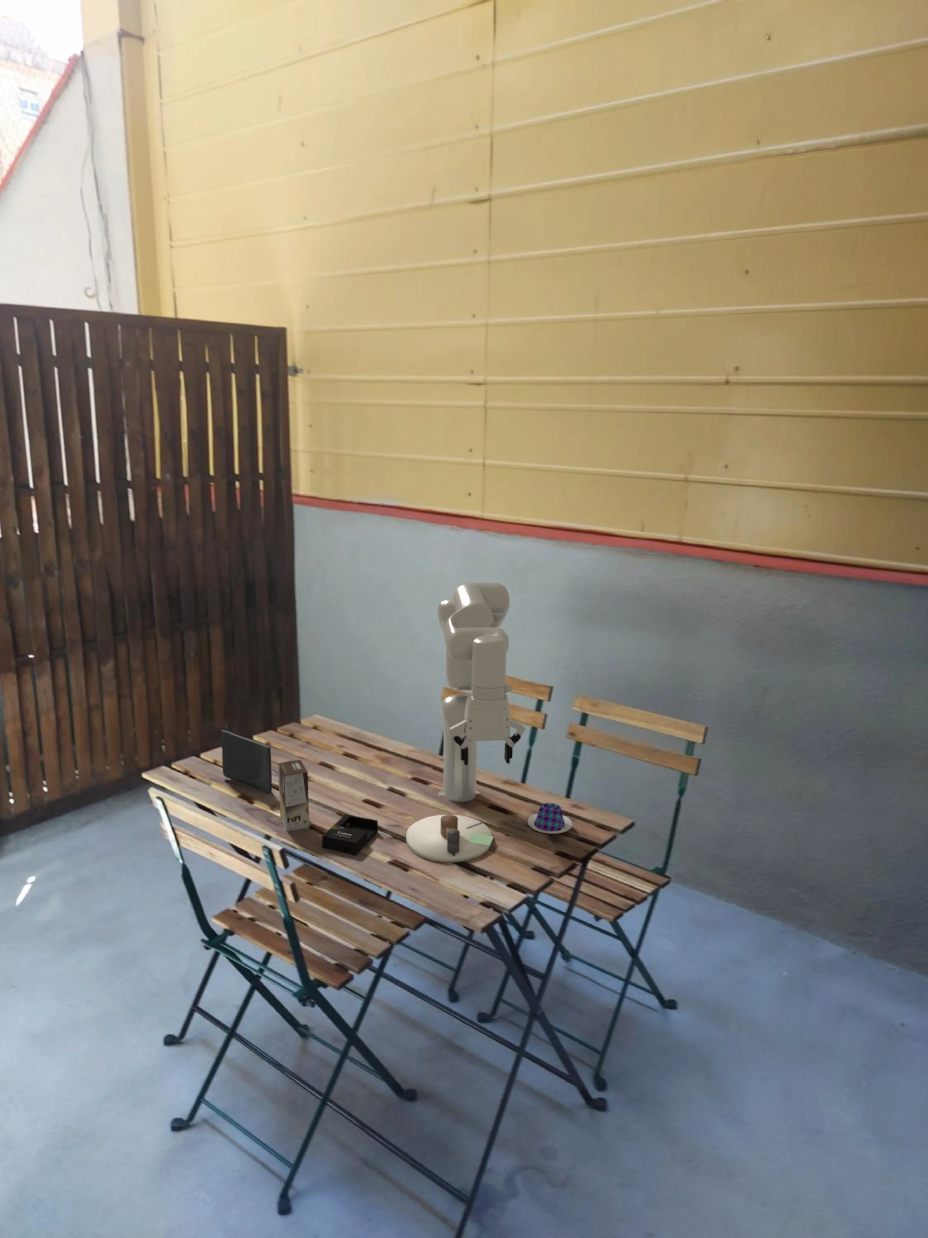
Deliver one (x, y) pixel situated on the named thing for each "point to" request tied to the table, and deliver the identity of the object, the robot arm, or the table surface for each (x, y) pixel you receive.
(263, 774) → the dark grey flat panel
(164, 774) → the table surface
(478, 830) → the dial plate
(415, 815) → the table surface
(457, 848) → the peg lever
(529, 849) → the table surface
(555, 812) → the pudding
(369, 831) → the battery charger
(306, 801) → the coffee box
